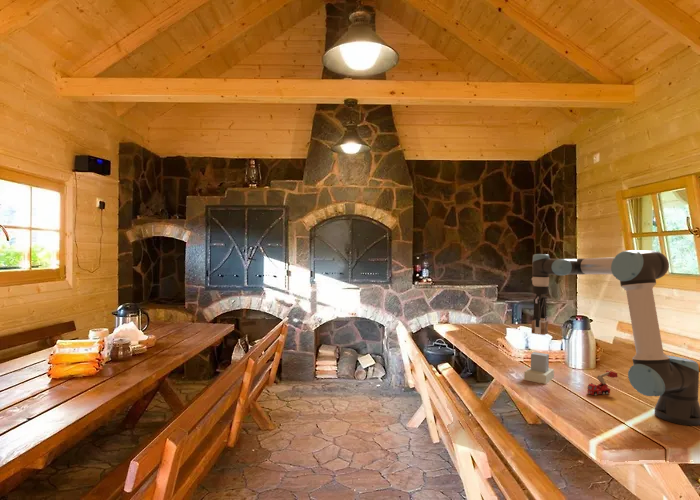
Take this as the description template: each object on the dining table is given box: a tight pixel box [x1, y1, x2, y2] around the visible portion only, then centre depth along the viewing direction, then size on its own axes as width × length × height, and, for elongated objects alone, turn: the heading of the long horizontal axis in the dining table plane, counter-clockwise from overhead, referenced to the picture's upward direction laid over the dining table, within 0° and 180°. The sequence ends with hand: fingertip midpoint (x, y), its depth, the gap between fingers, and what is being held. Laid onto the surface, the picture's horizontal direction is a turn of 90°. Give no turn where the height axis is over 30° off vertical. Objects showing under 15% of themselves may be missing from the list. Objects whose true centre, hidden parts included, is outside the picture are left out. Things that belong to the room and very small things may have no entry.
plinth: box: [523, 367, 555, 385], centre depth 220 cm, size 14×10×4 cm
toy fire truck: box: [587, 370, 618, 396], centre depth 199 cm, size 3×14×10 cm, turn 105°
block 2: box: [530, 351, 550, 373], centre depth 220 cm, size 5×7×8 cm
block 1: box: [531, 319, 549, 336], centre depth 220 cm, size 6×6×6 cm
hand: (539, 332), depth 220 cm, fingers closed on block 1, 6 cm apart
